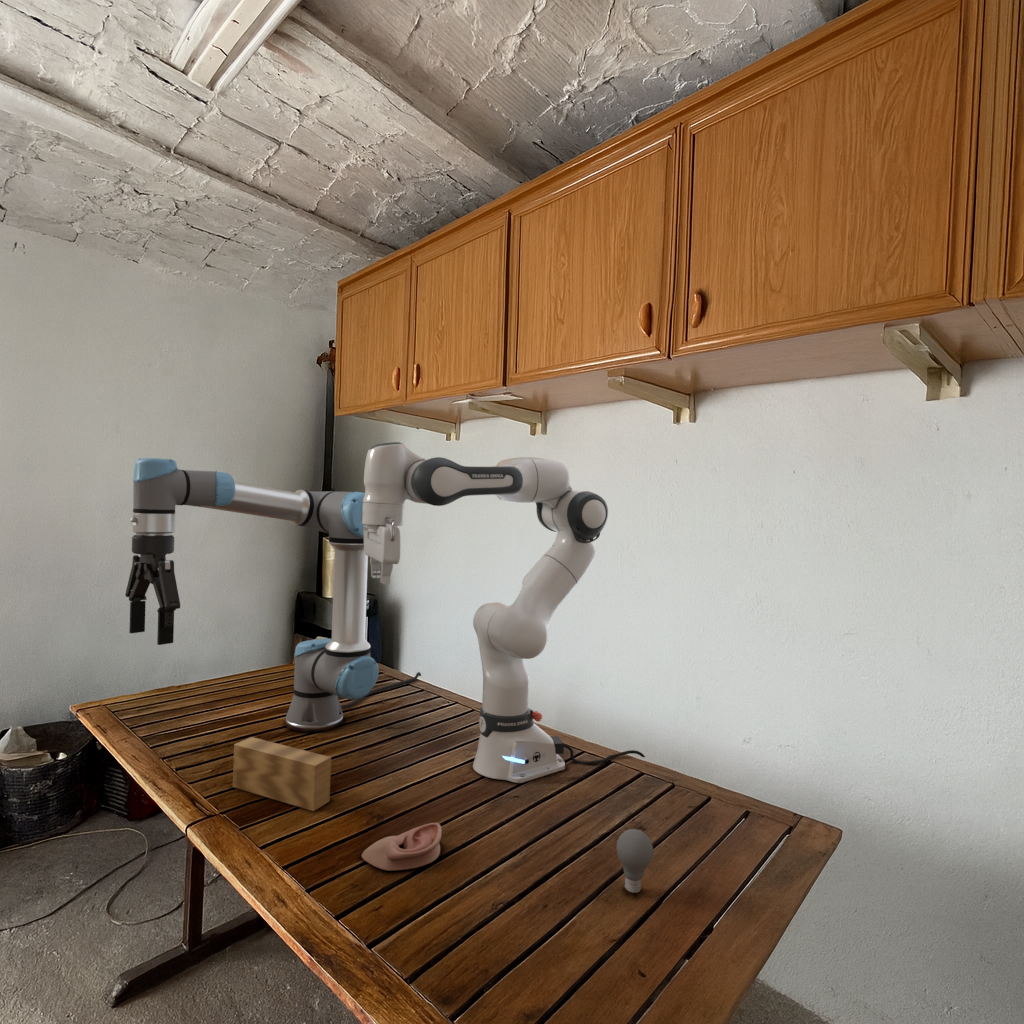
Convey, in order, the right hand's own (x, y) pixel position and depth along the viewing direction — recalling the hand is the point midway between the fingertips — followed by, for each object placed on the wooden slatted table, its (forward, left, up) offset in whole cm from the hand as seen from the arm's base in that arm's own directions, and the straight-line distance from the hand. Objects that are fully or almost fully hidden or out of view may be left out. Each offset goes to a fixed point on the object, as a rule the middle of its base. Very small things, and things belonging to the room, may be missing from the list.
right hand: (380, 580), depth 137 cm
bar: (+18, -5, -46) cm, 49 cm away
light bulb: (-30, +52, -46) cm, 75 cm away
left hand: (+43, -14, -13) cm, 47 cm away
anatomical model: (+1, +27, -46) cm, 53 cm away
